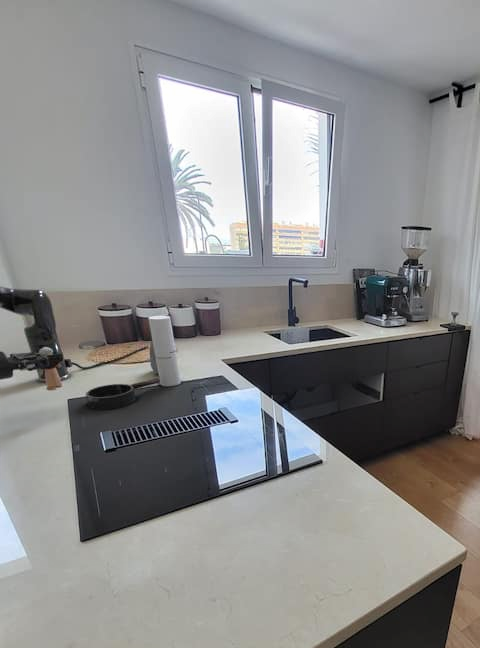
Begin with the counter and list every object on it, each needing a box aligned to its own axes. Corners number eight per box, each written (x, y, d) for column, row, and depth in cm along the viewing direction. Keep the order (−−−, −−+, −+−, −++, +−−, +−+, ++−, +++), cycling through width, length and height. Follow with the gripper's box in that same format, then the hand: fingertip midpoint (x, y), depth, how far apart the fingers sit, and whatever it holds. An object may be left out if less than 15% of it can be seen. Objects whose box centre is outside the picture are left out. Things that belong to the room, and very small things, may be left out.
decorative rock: (151, 369, 166) (144, 334, 160) (167, 367, 170) (161, 332, 164) (158, 380, 154) (151, 342, 148) (176, 377, 158) (170, 340, 152)
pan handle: (131, 390, 136) (130, 385, 135) (128, 389, 137) (127, 384, 136) (161, 382, 144) (160, 378, 143) (158, 381, 145) (157, 377, 144)
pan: (99, 395, 138) (96, 384, 136) (141, 393, 140) (138, 383, 138) (81, 410, 125) (78, 398, 124) (127, 408, 128) (124, 397, 126)
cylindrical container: (184, 382, 153) (174, 317, 143) (169, 387, 147) (157, 319, 137) (171, 379, 155) (160, 315, 145) (156, 384, 149) (143, 317, 140)
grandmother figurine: (54, 392, 117) (43, 350, 112) (40, 391, 117) (29, 350, 111) (69, 383, 124) (60, 344, 119) (56, 382, 124) (46, 343, 118)
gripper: (-11, 358, 101) (66, 347, 114) (-28, 350, 108) (46, 340, 121) (-1, 386, 104) (72, 372, 117) (-18, 376, 111) (53, 363, 124)
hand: (59, 356), depth 119 cm, fingers closed on grandmother figurine, 3 cm apart
